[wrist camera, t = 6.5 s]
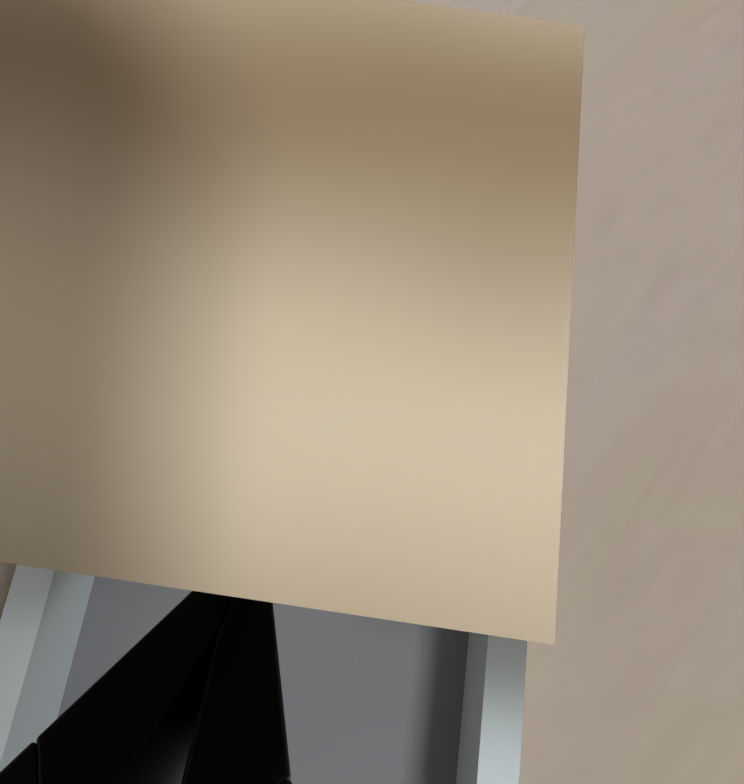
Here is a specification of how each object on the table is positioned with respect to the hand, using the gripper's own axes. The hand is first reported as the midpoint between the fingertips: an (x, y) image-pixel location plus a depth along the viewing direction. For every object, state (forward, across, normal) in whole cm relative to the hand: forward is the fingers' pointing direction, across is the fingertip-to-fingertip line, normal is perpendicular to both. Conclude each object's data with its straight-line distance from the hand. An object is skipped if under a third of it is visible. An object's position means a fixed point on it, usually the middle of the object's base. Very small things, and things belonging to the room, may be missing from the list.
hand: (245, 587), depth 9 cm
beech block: (+6, 0, +1) cm, 6 cm away
